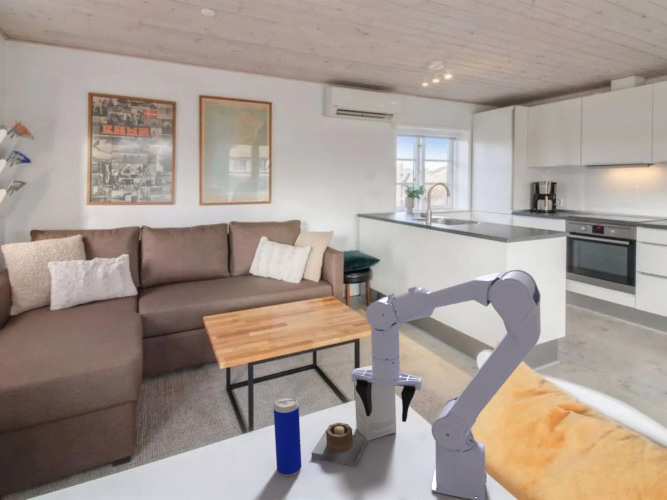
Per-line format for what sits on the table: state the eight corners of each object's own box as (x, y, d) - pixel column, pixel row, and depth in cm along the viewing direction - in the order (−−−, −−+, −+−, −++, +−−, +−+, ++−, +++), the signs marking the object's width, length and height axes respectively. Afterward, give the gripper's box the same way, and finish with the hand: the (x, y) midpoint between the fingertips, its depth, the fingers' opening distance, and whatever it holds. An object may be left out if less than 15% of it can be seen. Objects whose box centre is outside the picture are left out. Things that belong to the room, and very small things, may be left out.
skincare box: (384, 420, 102) (383, 361, 100) (397, 434, 96) (397, 371, 94) (354, 428, 99) (352, 367, 97) (366, 442, 93) (364, 378, 91)
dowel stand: (366, 441, 93) (366, 421, 92) (355, 466, 85) (354, 444, 84) (326, 434, 96) (325, 415, 96) (311, 457, 88) (310, 436, 87)
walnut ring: (354, 439, 92) (354, 425, 92) (347, 453, 87) (346, 438, 87) (332, 435, 94) (332, 421, 93) (324, 449, 89) (323, 434, 88)
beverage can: (302, 460, 87) (299, 395, 85) (301, 476, 82) (297, 407, 80) (278, 462, 87) (274, 396, 85) (275, 478, 82) (271, 408, 80)
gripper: (423, 351, 85) (423, 412, 86) (357, 345, 90) (359, 402, 91) (418, 364, 78) (419, 429, 80) (347, 357, 83) (349, 418, 85)
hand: (386, 416), depth 85 cm, fingers open, 7 cm apart
